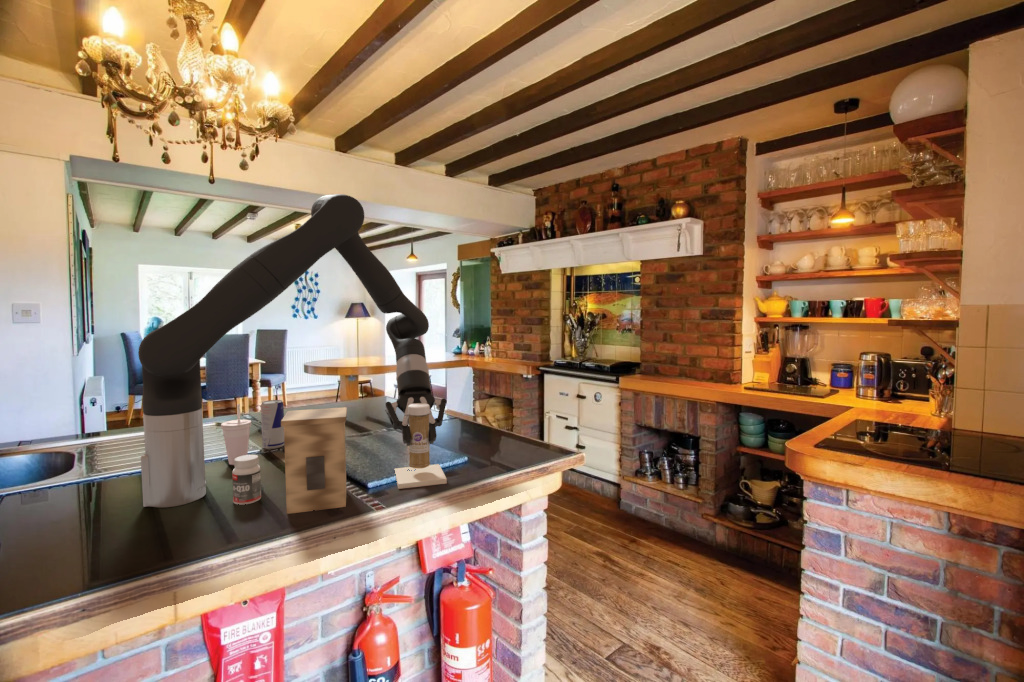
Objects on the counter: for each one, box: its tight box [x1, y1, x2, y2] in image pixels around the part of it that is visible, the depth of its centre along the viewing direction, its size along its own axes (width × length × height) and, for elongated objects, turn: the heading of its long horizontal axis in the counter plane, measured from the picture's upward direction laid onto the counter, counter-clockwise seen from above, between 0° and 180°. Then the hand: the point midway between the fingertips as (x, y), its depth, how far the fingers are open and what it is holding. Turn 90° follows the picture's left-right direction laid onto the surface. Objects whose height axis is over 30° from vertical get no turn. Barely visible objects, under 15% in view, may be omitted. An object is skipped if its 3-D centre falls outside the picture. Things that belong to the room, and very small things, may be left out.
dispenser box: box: [281, 406, 348, 515], centre depth 91 cm, size 11×9×17 cm
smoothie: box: [220, 403, 252, 466], centre depth 114 cm, size 6×6×14 cm
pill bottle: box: [231, 454, 262, 506], centre depth 92 cm, size 5×5×8 cm
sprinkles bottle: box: [408, 403, 431, 468], centre depth 104 cm, size 5×5×14 cm
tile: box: [393, 463, 448, 490], centre depth 104 cm, size 10×10×1 cm
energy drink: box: [260, 399, 285, 450], centre depth 128 cm, size 5×5×12 cm
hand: (420, 442), depth 102 cm, fingers closed on sprinkles bottle, 4 cm apart
